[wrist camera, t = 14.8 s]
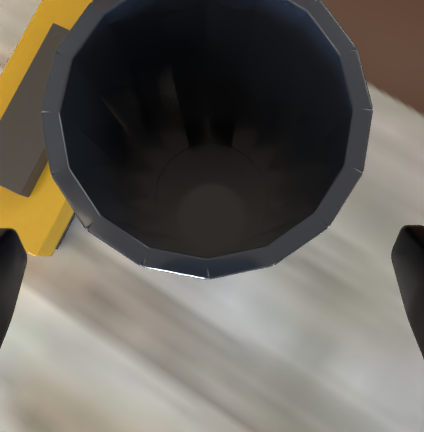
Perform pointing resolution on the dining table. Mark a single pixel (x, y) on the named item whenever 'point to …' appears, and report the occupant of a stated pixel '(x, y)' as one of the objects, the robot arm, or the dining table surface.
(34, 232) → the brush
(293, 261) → the dining table surface
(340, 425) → the dining table surface
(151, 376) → the dining table surface
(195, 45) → the tumbler
